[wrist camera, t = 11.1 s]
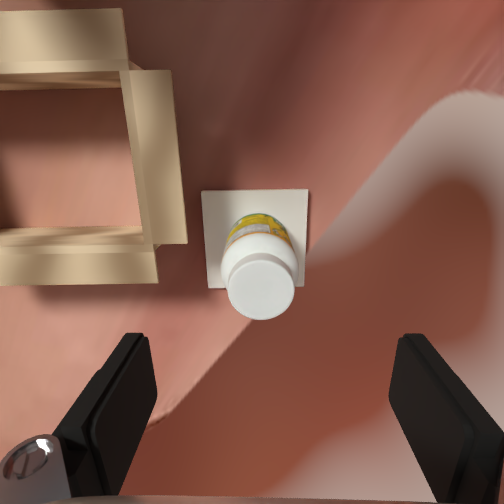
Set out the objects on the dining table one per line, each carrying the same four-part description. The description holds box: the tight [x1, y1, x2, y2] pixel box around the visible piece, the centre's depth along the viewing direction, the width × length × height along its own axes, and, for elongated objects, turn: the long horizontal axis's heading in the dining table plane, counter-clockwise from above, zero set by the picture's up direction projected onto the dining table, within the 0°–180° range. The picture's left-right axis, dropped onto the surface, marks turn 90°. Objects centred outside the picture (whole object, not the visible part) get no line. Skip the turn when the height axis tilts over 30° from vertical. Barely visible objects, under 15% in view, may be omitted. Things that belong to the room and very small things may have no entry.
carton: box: [0, 8, 188, 286], centre depth 23 cm, size 22×17×6 cm
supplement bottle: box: [221, 212, 299, 320], centre depth 22 cm, size 5×5×10 cm
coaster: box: [201, 189, 308, 288], centre depth 27 cm, size 9×9×1 cm
